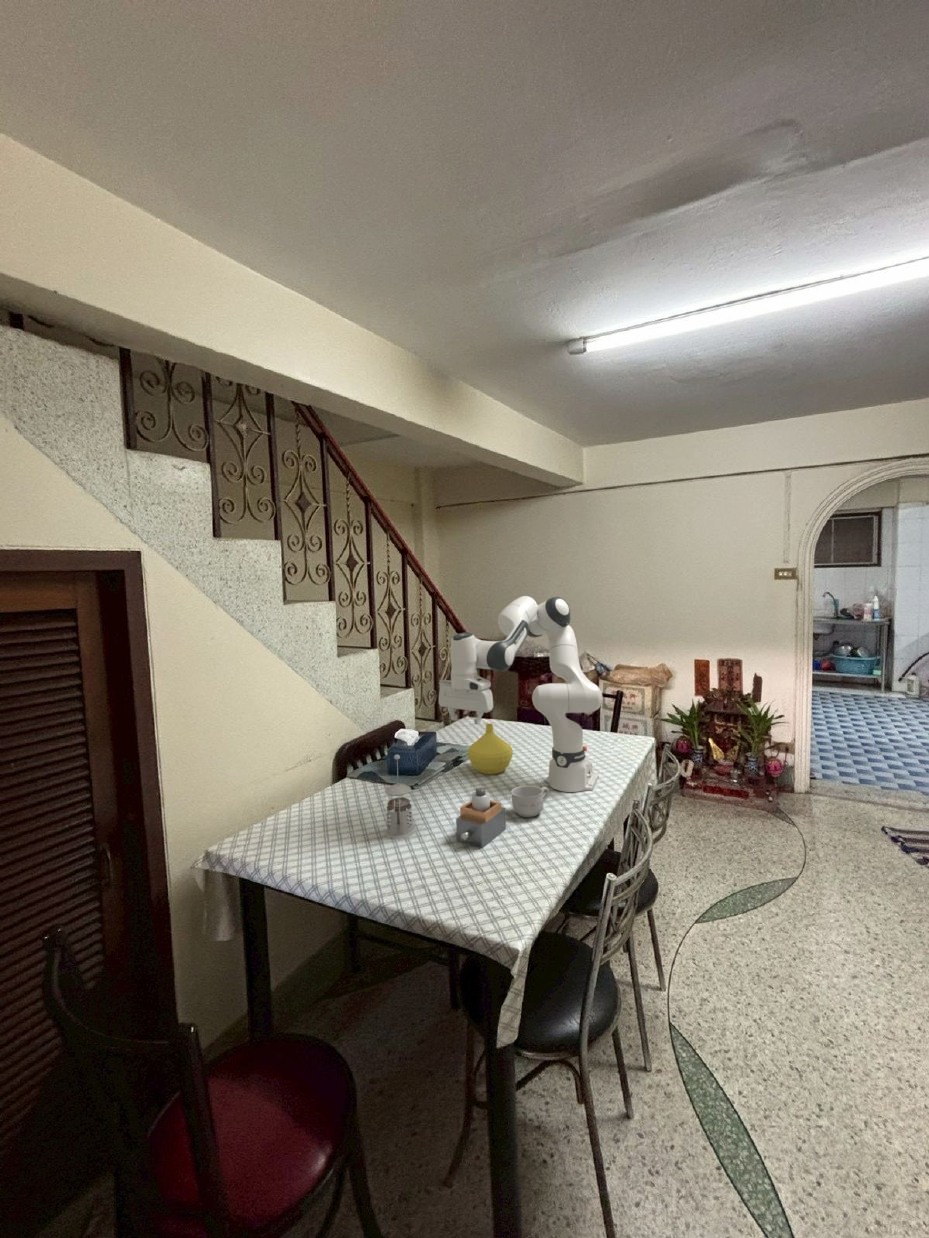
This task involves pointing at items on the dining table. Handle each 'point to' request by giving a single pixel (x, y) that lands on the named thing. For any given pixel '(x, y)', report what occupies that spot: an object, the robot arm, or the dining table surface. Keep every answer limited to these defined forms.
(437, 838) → the dining table surface
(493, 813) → the grey box with knob
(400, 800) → the french press
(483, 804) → the light grey rounded bottle
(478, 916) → the dining table surface
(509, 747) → the vase
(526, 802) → the teacup
